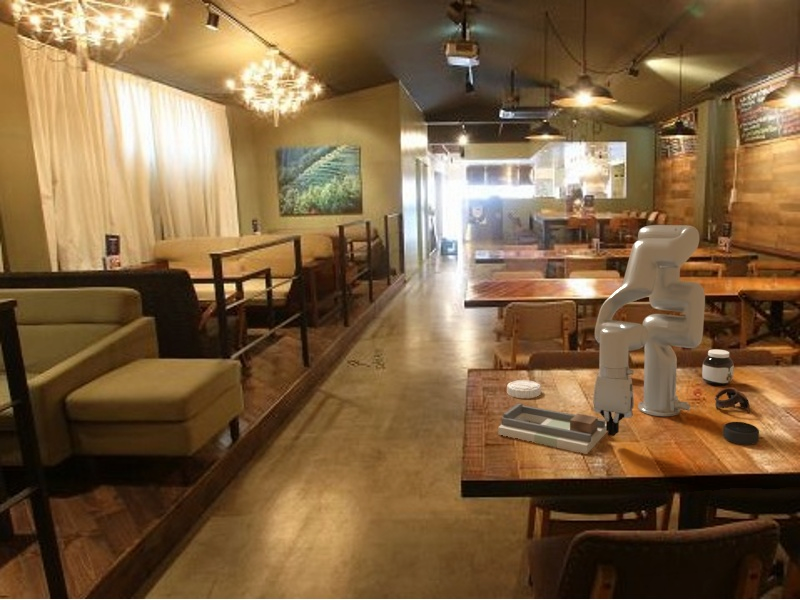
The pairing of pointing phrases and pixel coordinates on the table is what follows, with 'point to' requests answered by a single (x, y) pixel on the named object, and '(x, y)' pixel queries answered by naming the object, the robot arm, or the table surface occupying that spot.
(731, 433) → the smart speaker
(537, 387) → the mooncake
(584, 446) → the lane board
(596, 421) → the walnut block
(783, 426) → the table surface
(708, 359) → the spread jar
